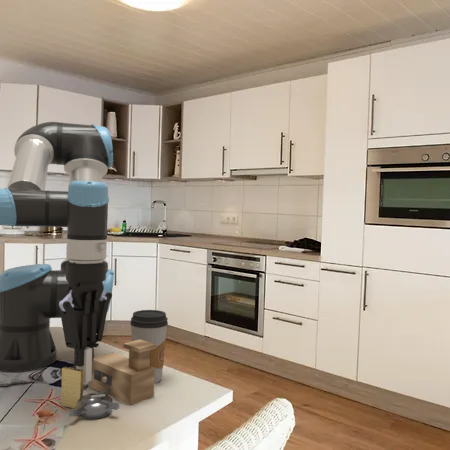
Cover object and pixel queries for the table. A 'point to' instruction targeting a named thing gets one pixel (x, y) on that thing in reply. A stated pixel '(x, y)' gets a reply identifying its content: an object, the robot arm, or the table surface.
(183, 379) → the table surface
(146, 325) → the coffee cup
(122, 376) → the wooden drawer box
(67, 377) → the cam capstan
